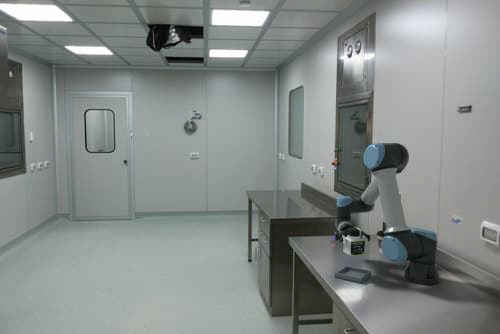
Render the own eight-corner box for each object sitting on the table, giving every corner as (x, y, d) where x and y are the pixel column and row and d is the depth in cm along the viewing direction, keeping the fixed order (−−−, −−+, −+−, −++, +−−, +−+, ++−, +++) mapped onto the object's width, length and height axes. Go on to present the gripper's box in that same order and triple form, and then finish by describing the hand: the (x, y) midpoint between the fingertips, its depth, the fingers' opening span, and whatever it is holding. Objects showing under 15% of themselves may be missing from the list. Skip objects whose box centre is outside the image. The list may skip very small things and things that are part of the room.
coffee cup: (392, 250, 234) (393, 230, 233) (399, 256, 223) (400, 234, 222) (373, 250, 234) (374, 229, 233) (379, 256, 223) (379, 234, 222)
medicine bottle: (350, 256, 186) (351, 230, 185) (343, 251, 193) (343, 226, 192) (364, 255, 188) (365, 229, 187) (356, 250, 195) (357, 226, 194)
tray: (371, 276, 192) (371, 270, 192) (360, 283, 182) (360, 278, 182) (346, 270, 200) (346, 265, 200) (334, 277, 190) (334, 272, 190)
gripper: (368, 237, 207) (379, 250, 185) (325, 237, 208) (331, 249, 186) (368, 223, 207) (380, 234, 184) (325, 222, 208) (332, 233, 185)
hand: (356, 242), depth 185 cm, fingers closed on medicine bottle, 9 cm apart
